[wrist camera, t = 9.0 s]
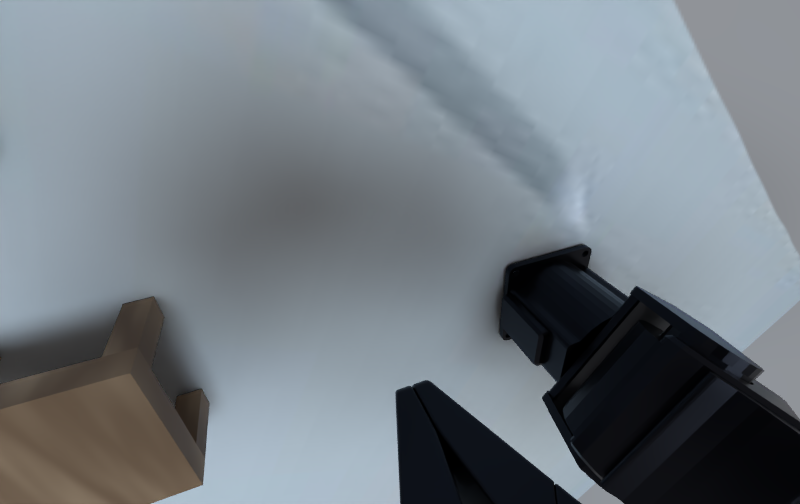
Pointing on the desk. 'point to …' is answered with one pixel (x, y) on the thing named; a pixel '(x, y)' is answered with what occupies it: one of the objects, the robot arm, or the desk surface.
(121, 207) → the desk surface
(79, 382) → the footstool
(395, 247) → the desk surface
